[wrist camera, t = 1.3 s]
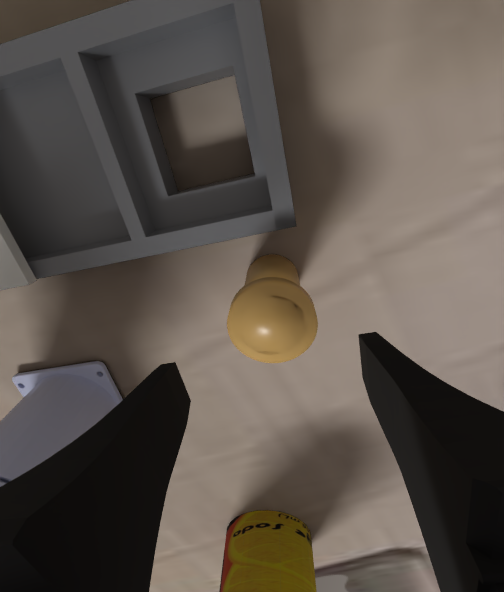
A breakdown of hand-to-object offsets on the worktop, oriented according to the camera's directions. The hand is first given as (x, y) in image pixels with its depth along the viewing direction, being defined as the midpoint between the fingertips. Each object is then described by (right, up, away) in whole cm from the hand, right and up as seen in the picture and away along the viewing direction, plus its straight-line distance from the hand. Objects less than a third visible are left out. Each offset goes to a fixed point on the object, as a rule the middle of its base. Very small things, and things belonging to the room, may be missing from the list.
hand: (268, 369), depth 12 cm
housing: (-8, +11, +6) cm, 15 cm away
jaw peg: (+1, +4, +9) cm, 10 cm away
